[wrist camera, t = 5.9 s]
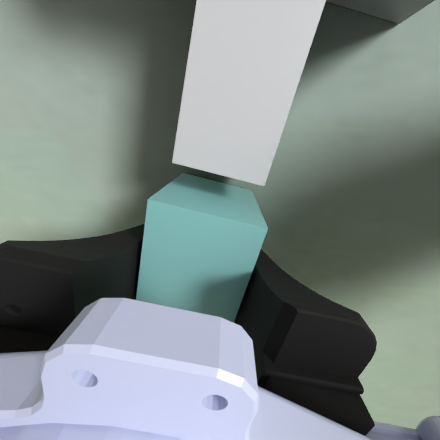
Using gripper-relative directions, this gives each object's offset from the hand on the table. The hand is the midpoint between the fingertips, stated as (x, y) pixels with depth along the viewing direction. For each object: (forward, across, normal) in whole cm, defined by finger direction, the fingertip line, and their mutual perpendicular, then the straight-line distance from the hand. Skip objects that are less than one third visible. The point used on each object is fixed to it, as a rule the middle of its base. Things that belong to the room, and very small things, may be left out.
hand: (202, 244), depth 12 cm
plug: (+1, 0, -5) cm, 5 cm away
